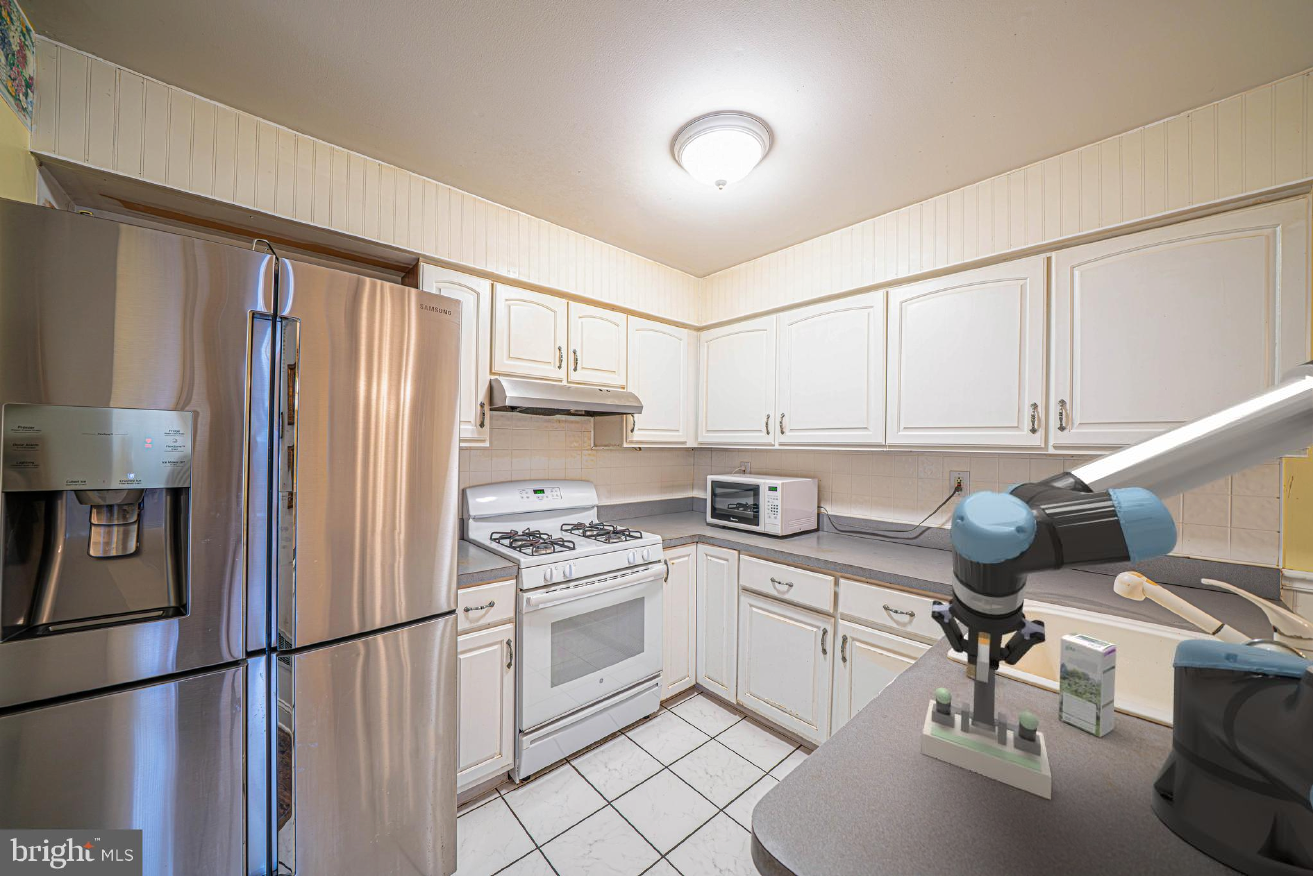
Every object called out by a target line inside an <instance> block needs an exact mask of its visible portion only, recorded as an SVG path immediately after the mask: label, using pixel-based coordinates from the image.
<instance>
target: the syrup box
mask: <svg viewBox="0 0 1313 876" xmlns="http://www.w3.org/2000/svg"><path fill="white" fill-rule="evenodd" d="M1059 651H1060V652H1059V653H1060V654H1059V655H1060V656H1059V657H1060V660H1059V686H1058V687H1059V690H1058V691H1059V692H1058V720H1060V721H1062V722H1064V723H1066V724H1069V725H1070V726H1072V727H1074V728H1077V729H1080V730H1082V731H1083V732H1086V733H1088V734H1091V735H1093V736H1096V737H1098V738H1102V737H1103V736H1105V735H1107V734H1109V733H1110V732H1112V731H1113V730H1114V729H1115V692H1116V691H1115V690H1116V689H1115V685H1116V683H1115V682H1116V664H1117V663H1116V661H1117V645H1116V644H1115V643H1113V642H1109V641H1104V640H1102V639H1100V638H1099V639H1098V638H1095V637H1091V636H1088V635H1084V634H1082V633H1077V632H1071V633H1067V634H1065V635H1063V636H1062V637H1060V650H1059Z"/></svg>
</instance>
